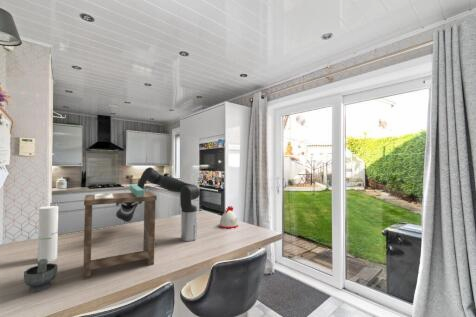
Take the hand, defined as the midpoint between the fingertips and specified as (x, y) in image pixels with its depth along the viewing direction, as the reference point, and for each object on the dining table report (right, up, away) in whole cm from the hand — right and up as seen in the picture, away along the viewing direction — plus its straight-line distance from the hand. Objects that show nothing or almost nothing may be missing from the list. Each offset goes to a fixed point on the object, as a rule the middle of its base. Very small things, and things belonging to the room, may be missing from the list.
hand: (130, 196), depth 130 cm
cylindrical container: (-31, -27, -20) cm, 46 cm away
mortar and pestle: (-13, -27, -44) cm, 54 cm away
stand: (+7, -28, -25) cm, 38 cm away
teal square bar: (+10, +4, -16) cm, 20 cm away
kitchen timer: (+54, -30, +41) cm, 74 cm away
